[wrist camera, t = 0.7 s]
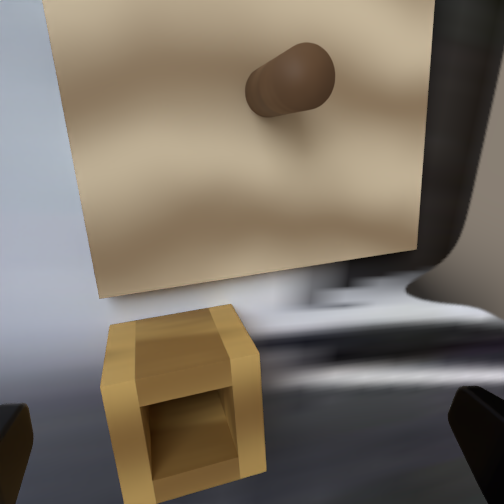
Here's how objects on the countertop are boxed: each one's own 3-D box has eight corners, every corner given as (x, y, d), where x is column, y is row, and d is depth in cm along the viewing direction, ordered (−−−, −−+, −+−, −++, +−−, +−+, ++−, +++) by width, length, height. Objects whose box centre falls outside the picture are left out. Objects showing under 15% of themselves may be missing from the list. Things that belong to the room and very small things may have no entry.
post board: (398, 242, 22) (478, 273, 17) (102, 286, 18) (87, 345, 12) (418, -102, 17) (539, -207, 12) (21, -149, 13) (-55, -338, 8)
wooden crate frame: (238, 400, 21) (266, 471, 17) (128, 427, 20) (126, 512, 15) (231, 303, 20) (259, 353, 15) (109, 325, 18) (100, 387, 14)
